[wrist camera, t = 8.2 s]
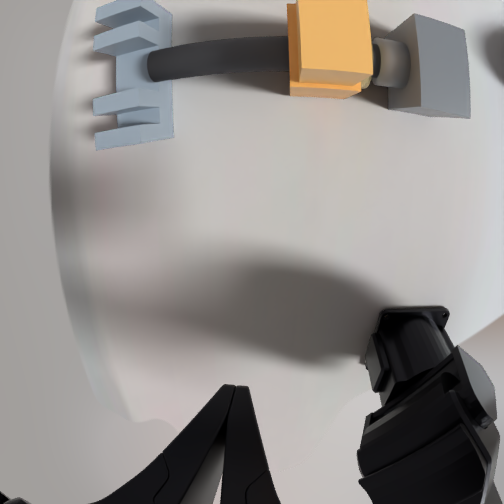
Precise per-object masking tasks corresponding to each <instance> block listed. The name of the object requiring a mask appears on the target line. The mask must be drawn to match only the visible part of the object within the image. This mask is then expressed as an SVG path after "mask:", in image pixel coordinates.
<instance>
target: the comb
mask: <svg viewBox="0 0 504 504" xmlns="http://www.w3.org/2000/svg"><path fill="white" fill-rule="evenodd" d="M95 22H97V23H100V24H103V25H105V26H108V27H111V28H113V29H112V30H109V31H106V32H103V33H101V34H98V35H95V36H94V45H93V51H96V52H100V53H104V54H108V55H112V56H116V93H113V94H110V95H106V96H102V97H98V98H95V99H93V116H102V115H117V123H118V129H113V130H108V131H103V132H98V133H95V145H96V150H102V149H108V148H114V147H121V146H127V145H135V144H142V143H147V142H152V141H157V140H163V139H168V138H174V131H173V109H172V80H167V81H161V82H153V81H152V80H151V78H150V76H149V74H148V70H147V59H148V55H149V53H150V52H151V51H155V50H159V49H164V48H169V47H171V46H172V14H171V13H170V12H169V11H167V10H166V9H165V8H163V7H162V6H161V5H159V4H158V3H156V2H155V1H154V0H116V1H114V2H111V3H108V4H106V5H103V6H101V7H98V8H97V9H96V18H95Z"/></svg>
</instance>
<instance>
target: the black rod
mask: <svg viewBox="0 0 504 504" xmlns="http://www.w3.org/2000/svg"><path fill="white" fill-rule="evenodd" d="M372 45H373V75H372V78H377V77H378V75H379V73H380V68H381V53H380V49H379V46H378V45H377V44H373V43H372ZM147 70H148V74H149V76H150V78H151V80H152V81H153V82H161V81H167V80H173V79H179V78H186V77H194V76H202V75H212V74H223V73H236V72H256V71H290V68H289V40H288V36H277V37H248V38H234V39H223V40H214V41H206V42H198V43H192V44H186V45H180V46H174V47H169V48H164V49H159V50H155V51H151V52H150V53H149V55H148V59H147Z"/></svg>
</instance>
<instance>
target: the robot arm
mask: <svg viewBox="0 0 504 504" xmlns="http://www.w3.org/2000/svg"><path fill="white" fill-rule="evenodd" d="M444 313H445V314H444ZM443 314H444V315H443ZM386 315H388V316H387V317H384V316H386ZM449 315H450V313H449V311H448V309H447V308H428V309H386V310H383V311H382V312H381V313H380V316H379V319H378V323H377V327H376V330H375V333H373V334H372V335H371V339H370V342H369V345H368V349H367V352H366V355H365V358H366V363H365V366H366V369H367V370H368V371H369V376H370V381H371V386H372V390H373V391H374V392H375V393H378V392H379V395H380V399H381V404H382V407H381V408H380V409H378V410H377V411H375V412H374V413H370V414H369V415H368V416H366V420H365V426H364V430H363V435H362V440H361V445H360V449H358V450H357V460H358V466H359V470H360V472H361V474H362V476H363V478H361V479H359V481H358V482H359V484H360V485H361V486H362V487H363V489H365V491H366V492H367V494H368V495H369V497H370V499H371V500H372V503H373V504H502V501H501V499H500V496H499V494H498V491H497V489H496V487H495V484H494V480H493V479H494V474H495V469H496V463H497V457H498V450H499V443H500V435H499V432H498V430H497V428H496V426H495V424H494V421H495V420H496V419H497V410H496V399H495V390H494V385H493V383H492V382H491V380H490V378H489V377H488V375H487V373H486V371H485V370H484V368H483V367H482V365H480V364H479V363H478V362H477V361H476V360H475V359H473V358H472V357H471V356H470V355H469V354H468V353H466V352H465V351H464V350H463V349H462V348H460V347H459V346H458V345H457V346H456V347H454V345H453V343H452V342H451V340H450V338H449V336H448V334H447V332H446V331H445V329H444V328H445V325H446V323H447V320H448V318H449ZM222 473H223V475H222ZM221 476H222V487H221V500H220V504H281V503H280V500H279V498H278V496H277V493H276V491H275V488H274V484H273V481H272V477H271V474H270V471H269V467H268V463H267V459H266V455H265V451H264V447H263V443H262V439H261V435H260V432H259V427H258V423H257V419H256V415H255V411H254V407H253V403H252V399H251V394H250V390H249V387H248V386H235V385H229V384H224V385H223V386H222V387H221V388H220V389H219V390H218V391H217V392H216V394H215V395H214V396H213V397H212V398H211V399H210V400H209V402H208V403H207V404H206V405H205V406H204V407H203V408H202V409H201V411H200V412H199V413H198V414H197V415H196V416H195V417H194V418H193V419H192V421H191V422H190V423H189V424H188V425H187V426H186V427H185V428H184V429H183V430H182V431H181V432H180V434H179V435H178V436H177V437H176V438H175V439H174V440H173V441H172V442H171V443H170V444H169V445H168V446H167V448H165V449H164V450H163V453H161V454H160V455H158V457H157V458H156V459H155V460H154V461H153V462H151V463H150V464H149V465H148V466H147V467H146V468H145V469H144V470H143V471H141V472H140V473H139V474H138V475H137V476H135V477H134V478H133V479H131V480H130V481H128V482H127V483H126V484H124V485H123V486H121V487H120V488H119V489H117V490H116V491H115V492H113V493H112V494H110V495H109V496H107V497H105V498H104V499H102V500H99V501H97V502H94V503H90V504H213V501H214V498H215V495H216V492H217V488H218V485H219V482H220V479H221ZM0 504H31V503H29V502H27V501H26V500H24V499H22V498H20V497H19V498H15V499H10V498H9V497H7V496H6V495H5V494H3V493H2V492H1V491H0Z"/></svg>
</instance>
